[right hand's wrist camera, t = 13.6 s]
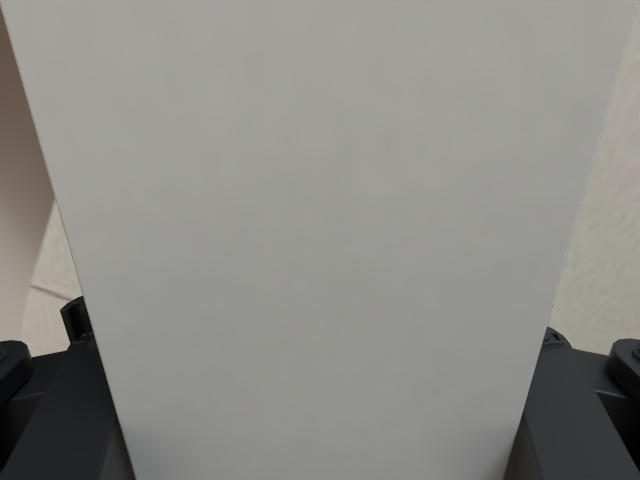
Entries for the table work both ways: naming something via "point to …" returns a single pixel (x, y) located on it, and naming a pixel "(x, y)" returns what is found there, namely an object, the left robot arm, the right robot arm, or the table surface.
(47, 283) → the table surface
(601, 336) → the table surface
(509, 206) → the box
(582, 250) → the table surface
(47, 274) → the table surface
